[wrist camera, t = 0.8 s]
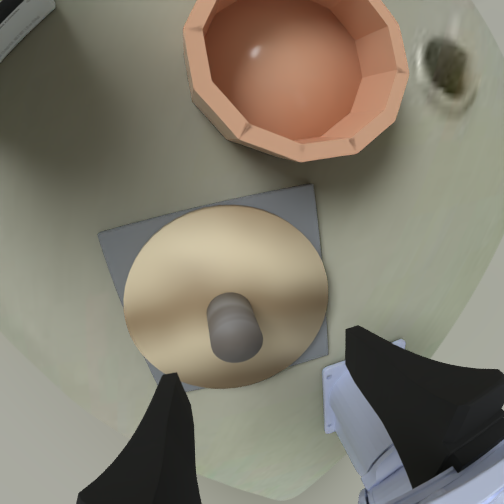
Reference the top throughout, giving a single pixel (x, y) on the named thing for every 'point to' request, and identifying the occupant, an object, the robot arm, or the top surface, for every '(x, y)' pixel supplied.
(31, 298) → the top surface
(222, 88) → the terracotta bowl
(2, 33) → the tea box
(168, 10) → the top surface
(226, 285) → the oak lid
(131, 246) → the rubber mat
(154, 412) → the robot arm
